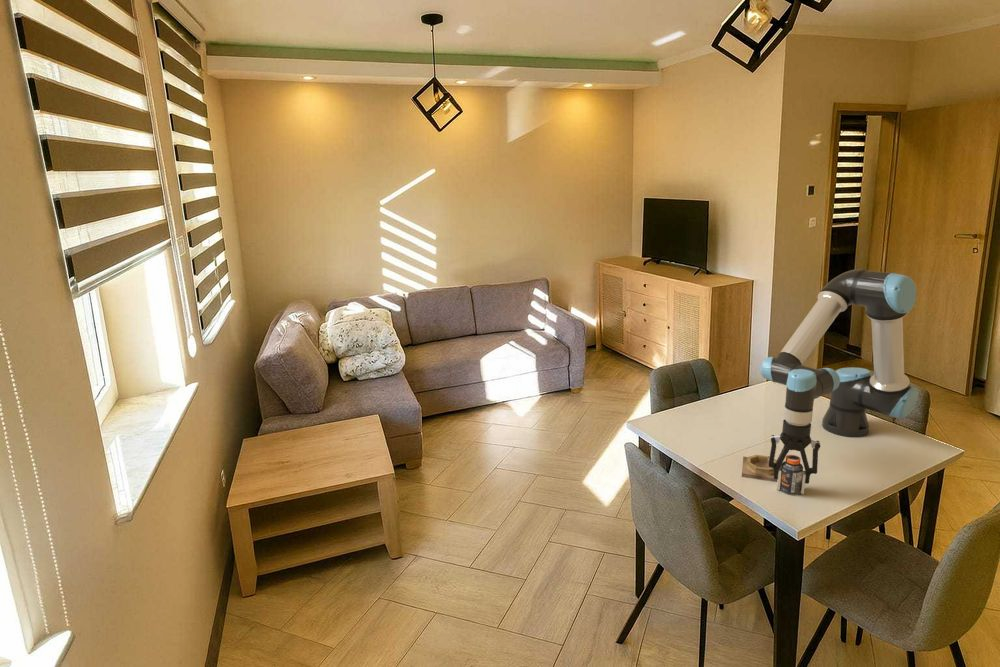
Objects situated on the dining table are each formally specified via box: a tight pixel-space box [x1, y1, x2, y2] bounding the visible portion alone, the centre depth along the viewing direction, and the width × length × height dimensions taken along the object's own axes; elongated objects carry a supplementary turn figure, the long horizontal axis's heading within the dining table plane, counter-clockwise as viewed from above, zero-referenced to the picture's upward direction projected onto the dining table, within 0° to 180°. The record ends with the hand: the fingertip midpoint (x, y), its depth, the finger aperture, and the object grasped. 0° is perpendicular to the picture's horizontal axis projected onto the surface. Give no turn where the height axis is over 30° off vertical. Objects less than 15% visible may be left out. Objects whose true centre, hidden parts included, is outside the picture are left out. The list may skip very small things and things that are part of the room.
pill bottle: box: [779, 454, 804, 496], centre depth 186 cm, size 6×6×11 cm
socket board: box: [741, 454, 782, 483], centre depth 199 cm, size 12×12×3 cm
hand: (790, 489), depth 187 cm, fingers open, 6 cm apart
